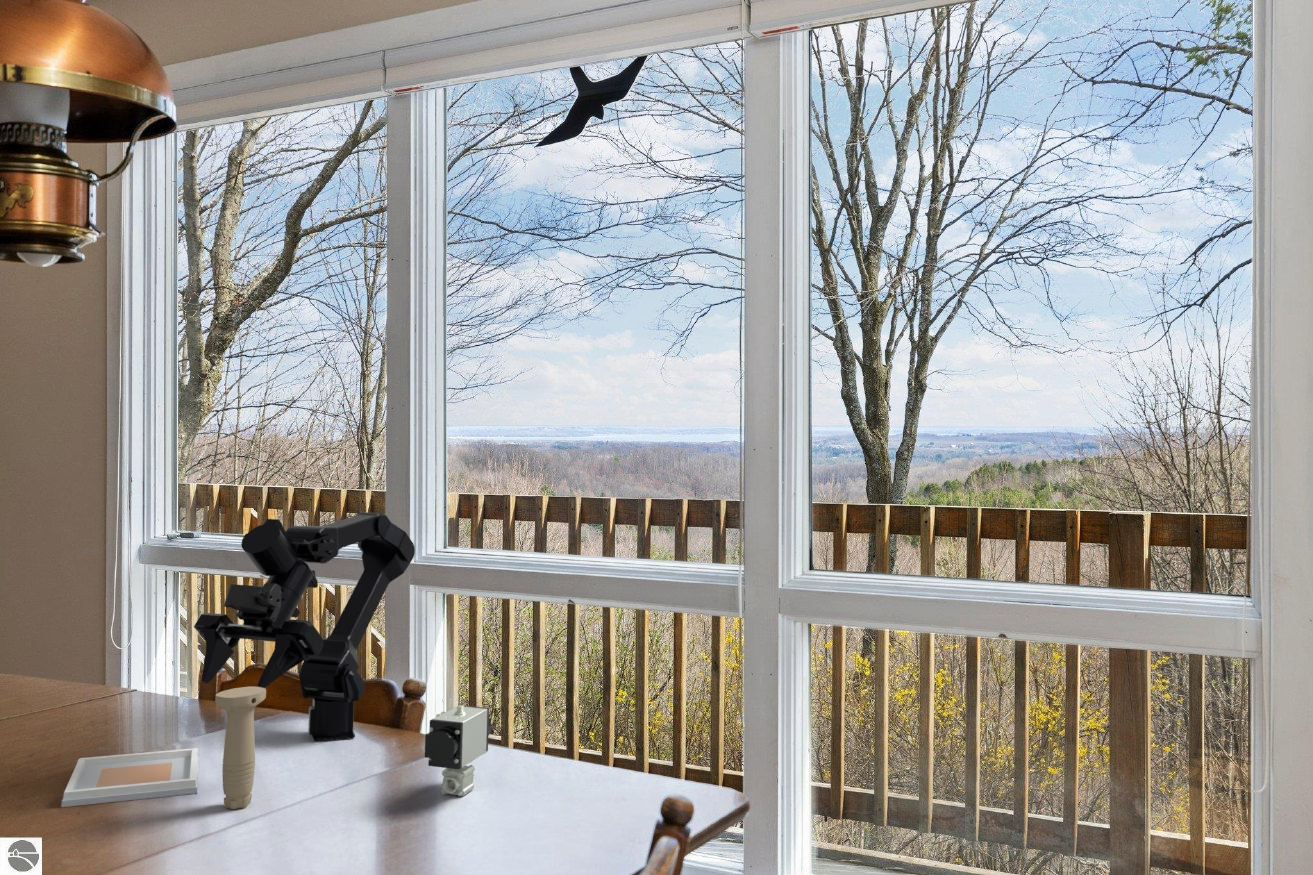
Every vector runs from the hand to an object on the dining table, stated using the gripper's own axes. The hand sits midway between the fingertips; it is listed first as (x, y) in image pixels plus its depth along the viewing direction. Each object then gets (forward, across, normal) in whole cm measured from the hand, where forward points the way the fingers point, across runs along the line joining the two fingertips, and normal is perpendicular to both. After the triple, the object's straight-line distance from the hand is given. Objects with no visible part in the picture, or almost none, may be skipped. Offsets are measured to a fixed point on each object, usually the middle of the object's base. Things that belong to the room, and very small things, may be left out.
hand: (231, 685), depth 140 cm
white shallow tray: (+13, -12, +7) cm, 19 cm away
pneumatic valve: (+5, +31, +15) cm, 35 cm away
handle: (+15, +7, +4) cm, 17 cm away
